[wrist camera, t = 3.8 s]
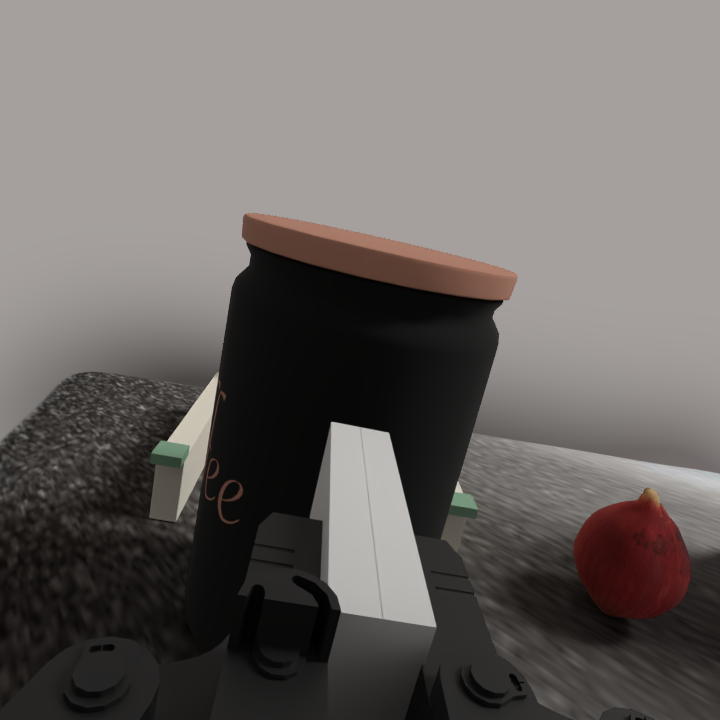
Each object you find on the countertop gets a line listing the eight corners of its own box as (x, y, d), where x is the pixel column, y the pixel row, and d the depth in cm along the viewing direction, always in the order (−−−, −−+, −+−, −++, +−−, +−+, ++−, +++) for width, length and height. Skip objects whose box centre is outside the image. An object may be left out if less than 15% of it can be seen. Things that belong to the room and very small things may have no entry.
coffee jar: (233, 529, 31) (288, 216, 26) (412, 579, 30) (502, 265, 25) (131, 679, 20) (192, 206, 16) (399, 761, 20) (547, 288, 15)
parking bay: (416, 452, 47) (428, 405, 46) (457, 578, 31) (478, 509, 30) (210, 415, 45) (218, 364, 44) (141, 528, 29) (150, 453, 28)
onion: (680, 634, 30) (735, 513, 28) (631, 668, 27) (690, 533, 25) (589, 570, 35) (631, 461, 33) (537, 592, 31) (580, 472, 29)
